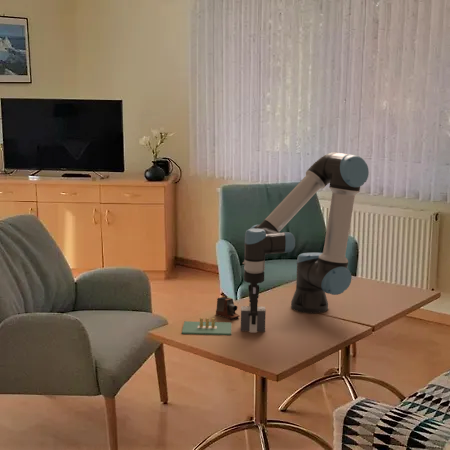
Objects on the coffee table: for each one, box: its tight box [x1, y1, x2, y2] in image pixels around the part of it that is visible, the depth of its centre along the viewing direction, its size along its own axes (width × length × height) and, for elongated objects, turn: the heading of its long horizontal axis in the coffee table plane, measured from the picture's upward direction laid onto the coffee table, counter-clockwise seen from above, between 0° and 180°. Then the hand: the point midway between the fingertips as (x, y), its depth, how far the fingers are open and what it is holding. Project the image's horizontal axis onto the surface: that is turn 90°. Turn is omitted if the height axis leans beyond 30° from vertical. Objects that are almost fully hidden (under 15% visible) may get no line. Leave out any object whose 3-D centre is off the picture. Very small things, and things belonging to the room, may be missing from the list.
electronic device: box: [215, 296, 241, 321], centre depth 267 cm, size 4×10×8 cm, turn 43°
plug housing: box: [240, 305, 267, 332], centre depth 254 cm, size 9×5×8 cm, turn 89°
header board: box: [181, 317, 232, 336], centre depth 253 cm, size 18×12×4 cm, turn 89°
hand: (252, 325), depth 254 cm, fingers open, 13 cm apart
